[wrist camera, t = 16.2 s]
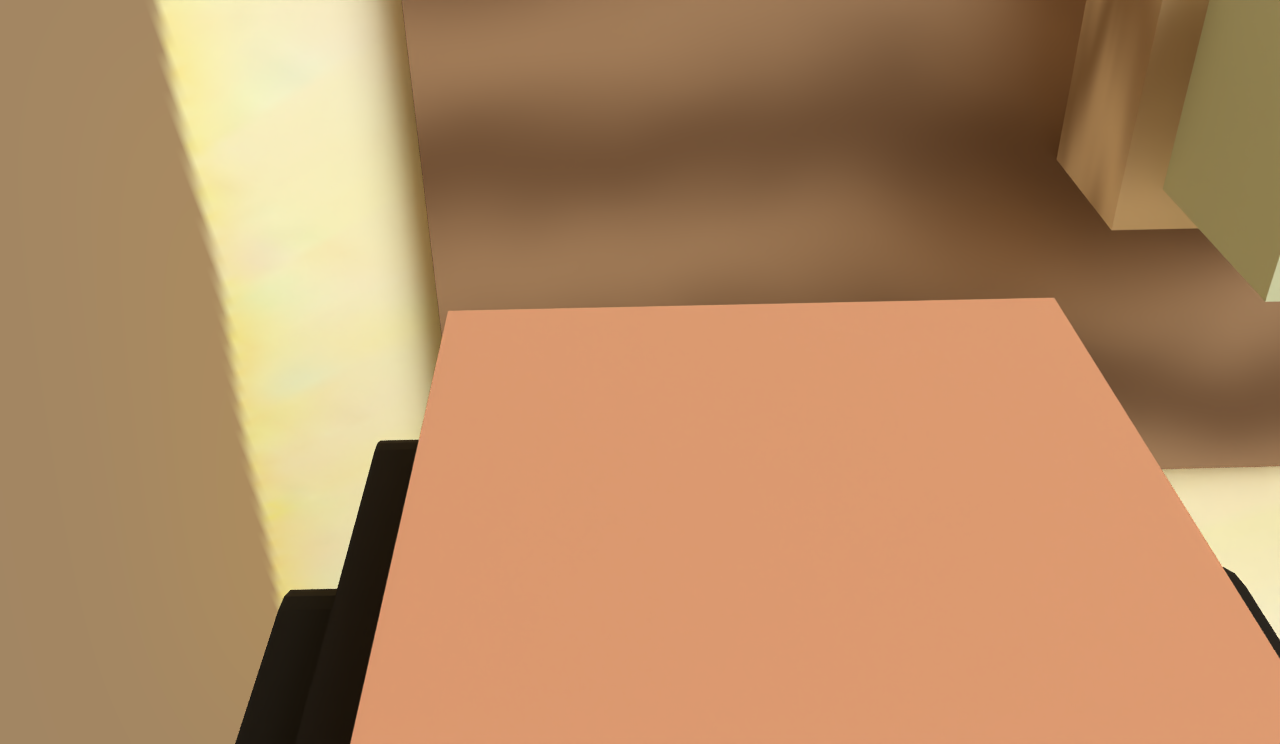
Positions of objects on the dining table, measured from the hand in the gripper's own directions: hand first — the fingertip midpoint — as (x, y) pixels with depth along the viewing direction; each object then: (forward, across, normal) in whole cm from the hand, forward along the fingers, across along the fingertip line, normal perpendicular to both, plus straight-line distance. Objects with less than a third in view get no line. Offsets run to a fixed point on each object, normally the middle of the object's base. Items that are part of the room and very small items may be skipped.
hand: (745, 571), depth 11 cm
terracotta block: (0, 0, 0) cm, 0 cm away
